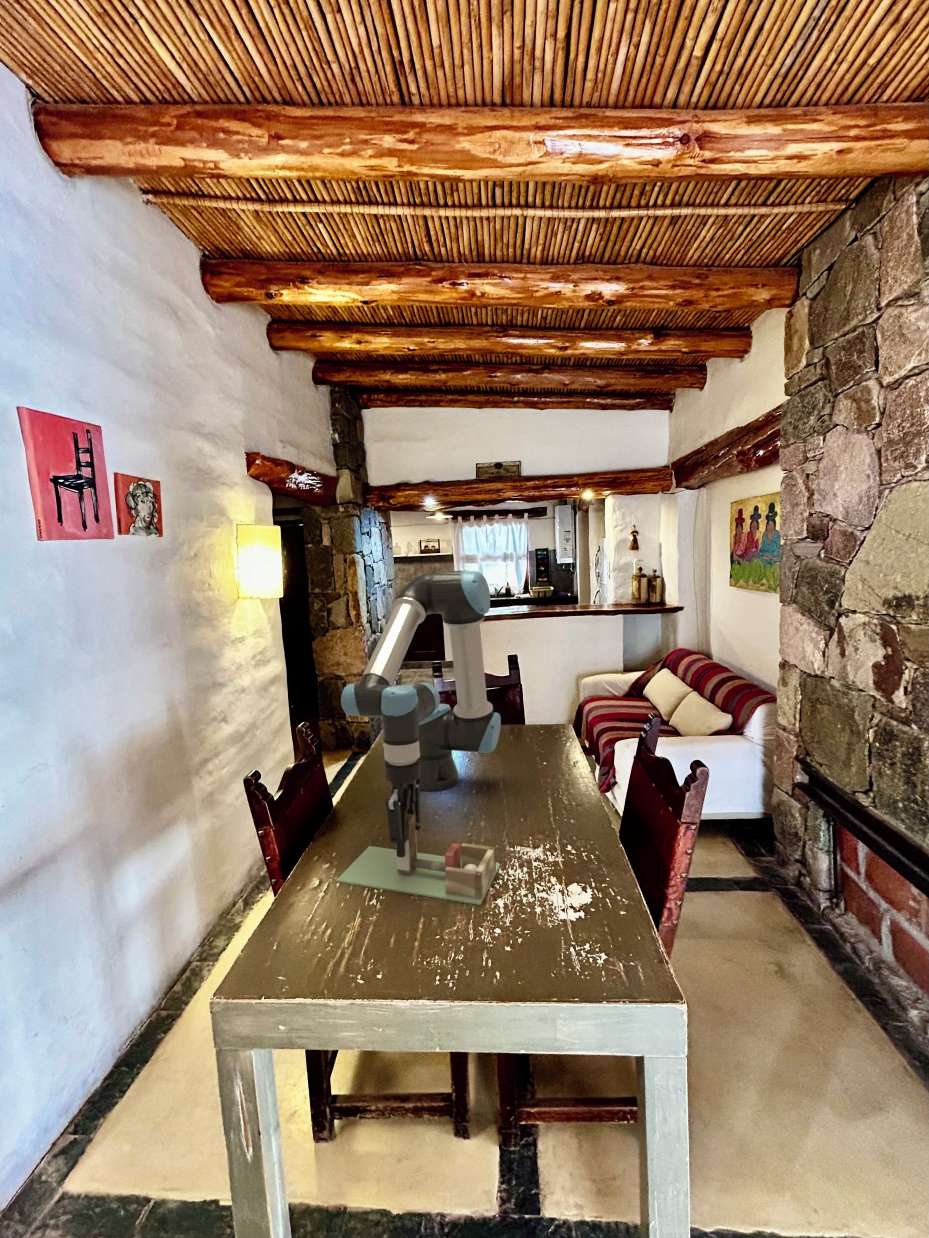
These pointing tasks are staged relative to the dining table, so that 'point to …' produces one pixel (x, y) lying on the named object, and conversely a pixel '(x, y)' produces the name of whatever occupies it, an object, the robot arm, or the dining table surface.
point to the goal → (471, 871)
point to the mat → (402, 875)
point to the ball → (471, 867)
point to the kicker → (450, 860)
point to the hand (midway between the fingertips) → (407, 864)
